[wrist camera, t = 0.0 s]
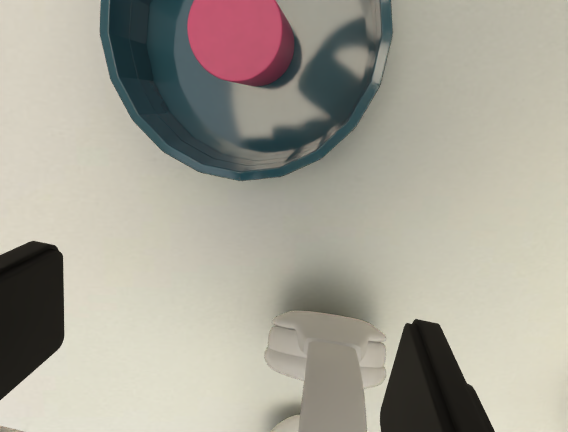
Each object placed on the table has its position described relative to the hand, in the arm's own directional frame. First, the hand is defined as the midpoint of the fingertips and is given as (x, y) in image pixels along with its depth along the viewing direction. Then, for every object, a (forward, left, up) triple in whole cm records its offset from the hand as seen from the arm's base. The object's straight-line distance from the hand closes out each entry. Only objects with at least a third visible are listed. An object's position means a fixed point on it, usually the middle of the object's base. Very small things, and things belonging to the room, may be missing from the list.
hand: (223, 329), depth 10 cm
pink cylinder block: (-9, +2, -15) cm, 17 cm away
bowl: (-9, +2, -15) cm, 18 cm away
